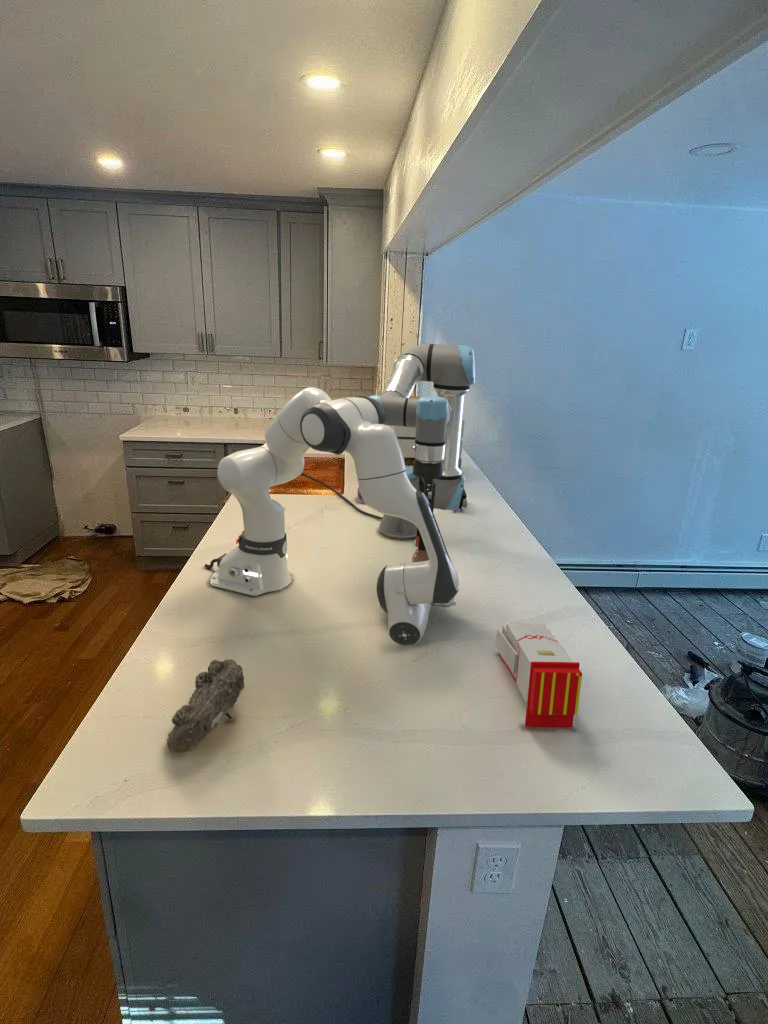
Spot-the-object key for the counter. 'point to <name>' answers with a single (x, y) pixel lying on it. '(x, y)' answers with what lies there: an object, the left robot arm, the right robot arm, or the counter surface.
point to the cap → (417, 541)
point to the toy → (541, 674)
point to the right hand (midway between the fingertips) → (422, 545)
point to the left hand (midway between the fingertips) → (420, 577)
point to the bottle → (420, 556)
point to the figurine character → (463, 500)
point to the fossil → (206, 705)
